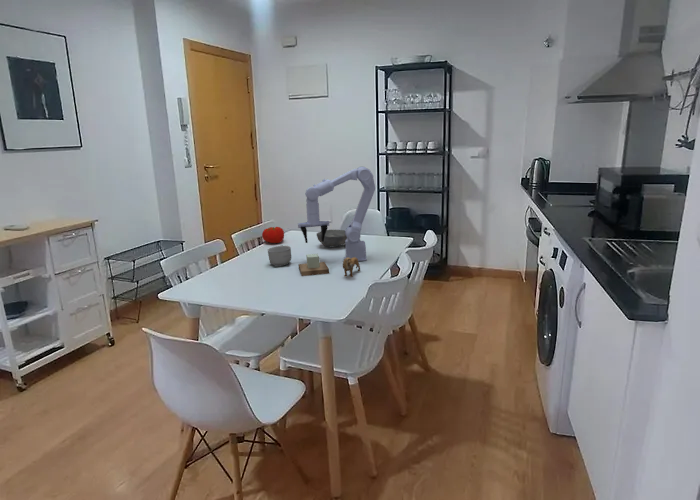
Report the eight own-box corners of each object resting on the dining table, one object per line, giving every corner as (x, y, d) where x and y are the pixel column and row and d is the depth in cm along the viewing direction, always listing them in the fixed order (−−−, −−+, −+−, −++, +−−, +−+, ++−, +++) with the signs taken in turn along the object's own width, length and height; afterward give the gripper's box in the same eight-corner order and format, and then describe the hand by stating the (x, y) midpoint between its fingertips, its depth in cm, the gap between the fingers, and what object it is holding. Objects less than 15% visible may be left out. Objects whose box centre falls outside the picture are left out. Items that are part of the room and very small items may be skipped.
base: (324, 265, 211) (324, 261, 211) (329, 273, 200) (329, 269, 200) (298, 268, 209) (298, 264, 209) (301, 276, 198) (301, 271, 197)
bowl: (356, 244, 249) (356, 230, 247) (338, 252, 235) (338, 236, 233) (329, 241, 259) (329, 227, 257) (310, 248, 244) (310, 233, 242)
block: (318, 264, 207) (317, 253, 206) (319, 267, 202) (319, 256, 201) (307, 265, 206) (306, 254, 205) (308, 268, 201) (307, 257, 200)
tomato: (266, 239, 267) (265, 225, 265) (287, 239, 265) (286, 224, 263) (259, 245, 254) (257, 230, 252) (281, 245, 252) (279, 230, 250)
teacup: (287, 268, 210) (286, 251, 208) (265, 267, 213) (263, 250, 211) (296, 259, 224) (295, 243, 222) (275, 259, 226) (274, 243, 224)
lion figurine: (353, 279, 191) (352, 259, 188) (340, 279, 192) (340, 258, 190) (361, 269, 204) (361, 250, 202) (350, 269, 206) (349, 249, 203)
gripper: (326, 210, 218) (328, 238, 221) (296, 212, 215) (298, 241, 218) (329, 213, 211) (330, 241, 214) (298, 215, 208) (300, 244, 211)
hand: (314, 241), depth 216 cm, fingers open, 7 cm apart
